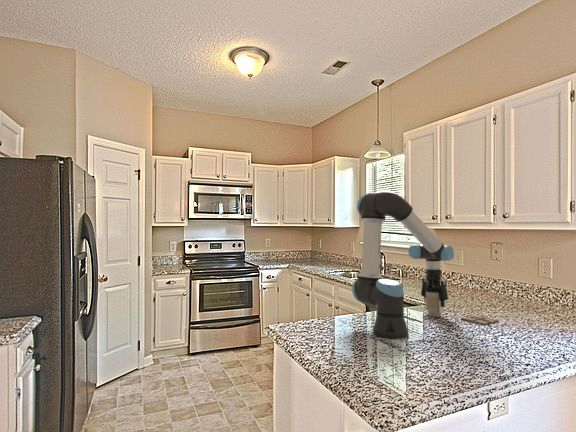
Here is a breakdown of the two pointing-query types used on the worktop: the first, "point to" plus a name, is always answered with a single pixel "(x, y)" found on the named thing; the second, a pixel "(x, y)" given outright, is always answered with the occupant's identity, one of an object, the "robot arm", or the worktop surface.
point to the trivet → (480, 320)
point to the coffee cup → (433, 301)
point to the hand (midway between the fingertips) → (434, 311)
